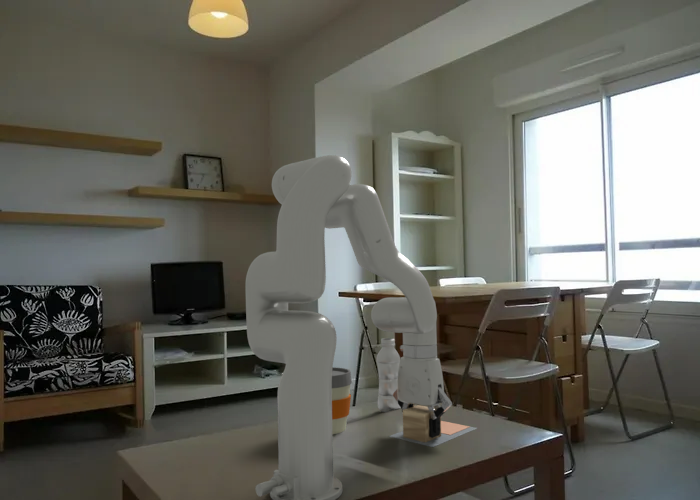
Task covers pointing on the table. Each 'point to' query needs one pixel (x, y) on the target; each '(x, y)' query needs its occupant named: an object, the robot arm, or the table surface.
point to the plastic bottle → (387, 375)
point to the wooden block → (417, 423)
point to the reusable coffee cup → (340, 398)
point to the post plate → (447, 434)
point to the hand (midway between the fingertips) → (422, 432)
